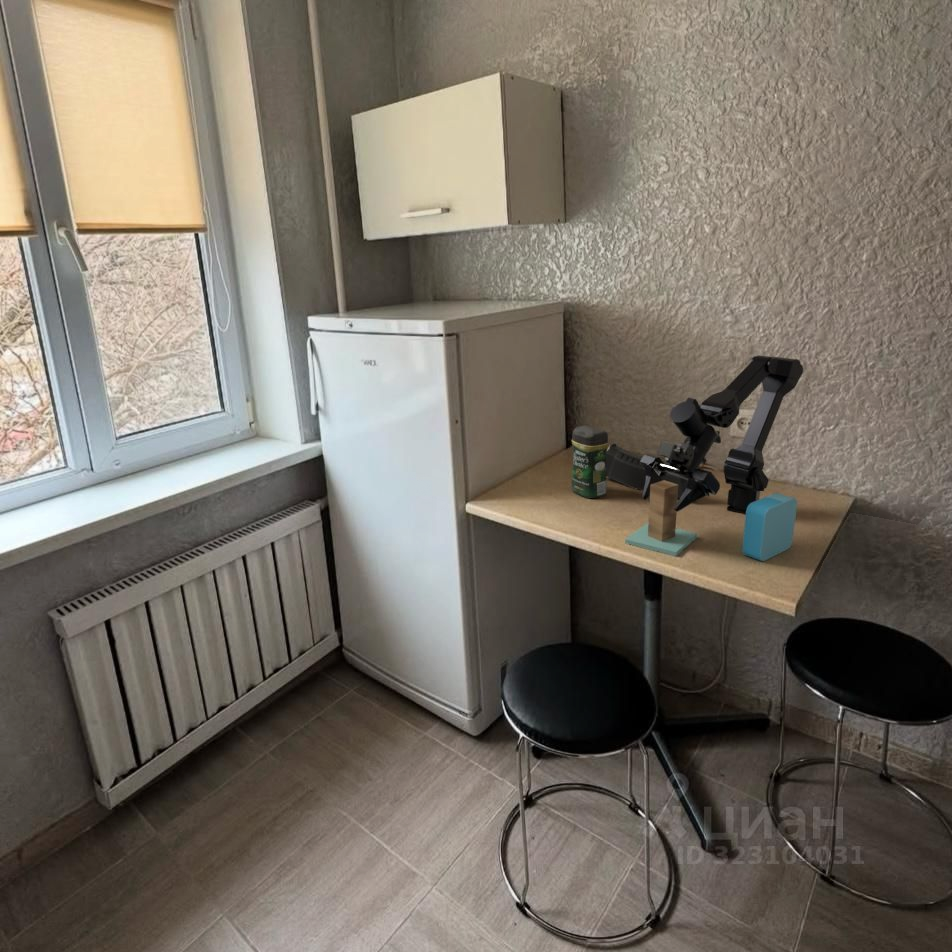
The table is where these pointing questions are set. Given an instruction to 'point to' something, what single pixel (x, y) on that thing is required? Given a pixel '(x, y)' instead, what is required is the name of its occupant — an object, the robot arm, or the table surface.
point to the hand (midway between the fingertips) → (659, 504)
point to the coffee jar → (589, 462)
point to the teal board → (667, 546)
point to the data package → (769, 526)
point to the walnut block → (662, 510)
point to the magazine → (633, 469)
